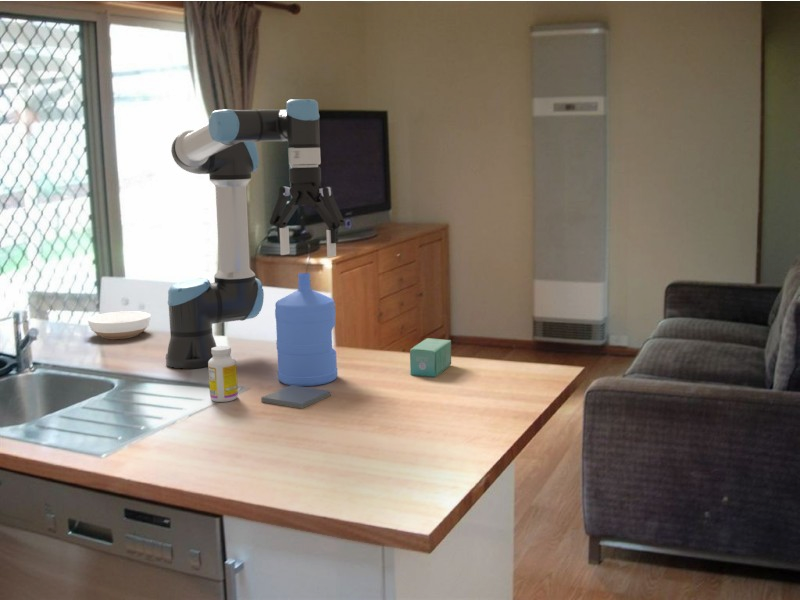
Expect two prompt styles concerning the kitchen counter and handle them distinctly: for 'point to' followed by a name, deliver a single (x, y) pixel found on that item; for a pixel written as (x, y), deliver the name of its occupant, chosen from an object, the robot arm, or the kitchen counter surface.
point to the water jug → (305, 336)
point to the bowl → (119, 324)
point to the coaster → (296, 396)
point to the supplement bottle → (222, 375)
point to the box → (430, 357)
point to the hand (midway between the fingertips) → (308, 255)
